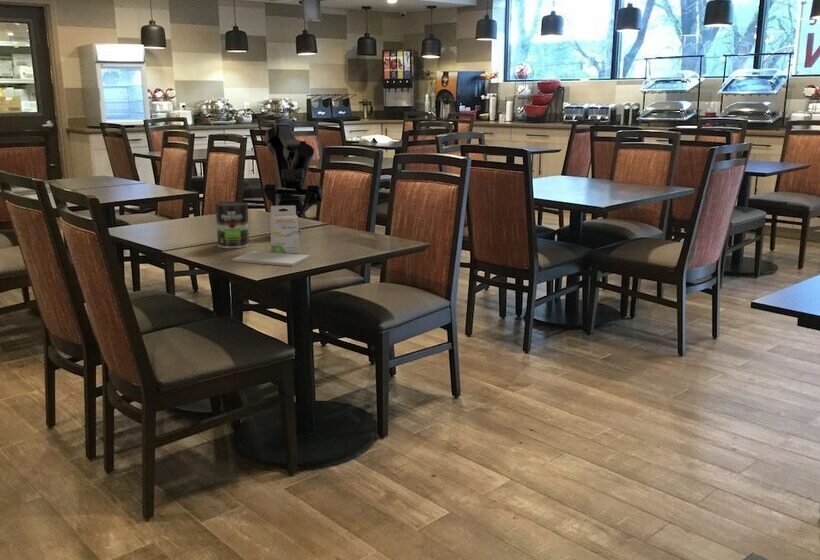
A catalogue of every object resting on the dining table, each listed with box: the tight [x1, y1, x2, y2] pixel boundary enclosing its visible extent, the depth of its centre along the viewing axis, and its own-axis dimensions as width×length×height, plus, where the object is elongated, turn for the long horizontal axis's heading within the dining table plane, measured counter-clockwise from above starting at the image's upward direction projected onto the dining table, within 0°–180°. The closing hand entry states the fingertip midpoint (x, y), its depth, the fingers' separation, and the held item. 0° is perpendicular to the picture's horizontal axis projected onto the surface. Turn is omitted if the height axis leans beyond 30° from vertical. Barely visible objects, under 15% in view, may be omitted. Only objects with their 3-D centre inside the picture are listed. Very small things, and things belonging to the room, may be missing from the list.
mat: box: [231, 250, 311, 267], centre depth 226 cm, size 20×12×1 cm, turn 72°
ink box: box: [269, 205, 300, 254], centre depth 235 cm, size 9×5×15 cm, turn 105°
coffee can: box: [215, 201, 250, 250], centre depth 245 cm, size 10×10×14 cm
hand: (288, 213), depth 237 cm, fingers open, 9 cm apart
